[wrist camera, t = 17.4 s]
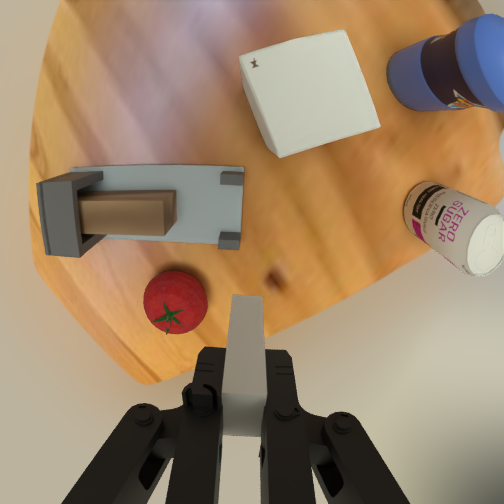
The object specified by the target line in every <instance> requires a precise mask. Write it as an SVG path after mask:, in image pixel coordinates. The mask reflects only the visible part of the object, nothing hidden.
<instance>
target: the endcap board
mask: <svg viewBox="0 0 504 504" xmlns="http://www.w3.org/2000/svg"><path fill="white" fill-rule="evenodd" d="M243 179H244V166H222V165H181V164H152V165H112V166H91V167H75V168H71V169H70V172H69V173H66V174H63V175H60V176H57V177H54V178H50V179H47V180H44V181H42V182H39V183H36V184H37V196H38V205H39V214H40V222H41V229H42V235H43V241H44V247H45V253H46V255H53V256H64V257H76V258H80V257H81V256H83V255H84V253H86V252H87V251H88V250H89V249H90V248H92V247H93V246H94V245H95V244H96V243H98V242H99V241H100V240H101V239H103V238H109V239H129V240H148V241H168V242H186V243H205V244H218V249H227V250H239V247H240V236H241V217H242V198H243ZM113 190H176V198H177V221H176V223H175V224H174V225H173V226H172V228H171V229H170V230H169V231H168V233H167V234H166V235H165V236H140V235H108V234H81V230H80V222H79V212H78V200H77V193H79V192H82V191H113Z"/></svg>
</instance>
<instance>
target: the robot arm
mask: <svg viewBox="0 0 504 504" xmlns="http://www.w3.org/2000/svg"><path fill="white" fill-rule="evenodd" d="M182 398H183V405H182V406H180V407H178V408H174V409H170V410H161V411H160V410H159V409H158V408H157V407H155V406H154V405H151V404H146V403H143V404H137V405H135V406H132V407H131V408H130V409H129V410H128V411H127V412H126V414H125V415H124V416H123V418H122V419H121V421H120V422H119V423H118V425H117V426H116V428H115V429H114V430H113V432H112V433H111V435H110V436H109V437H108V439H107V440H106V442H105V443H104V444H103V446H102V447H101V449H100V450H99V451H98V453H97V454H96V456H95V457H94V458H93V460H92V461H91V463H90V464H89V465H88V467H87V468H86V469H85V471H84V472H83V474H82V475H81V477H80V478H79V479H78V481H77V482H76V484H75V485H74V487H73V488H72V489H71V491H70V492H69V493H68V495H67V496H66V498H65V499H64V500H63V502H62V503H61V504H147V502H148V500H149V498H150V496H151V494H152V493H153V491H154V489H155V487H156V485H157V484H158V482H159V480H160V478H161V476H162V474H163V472H164V471H165V469H166V467H167V465H168V463H169V461H170V459H171V458H174V459H173V464H172V469H171V475H170V480H169V486H168V491H167V497H166V503H165V504H218V497H219V483H220V470H221V457H222V436H223V435H231V436H254V437H261V446H260V452H259V457H260V478H261V479H260V480H261V504H316V500H315V492H314V484H313V477H312V469H313V471H314V473H315V476H316V478H317V480H318V482H319V484H320V486H321V489H322V491H323V493H324V495H325V498H326V499H327V501H328V504H410V503H409V501H408V499H407V498H406V496H405V495H404V493H403V491H402V490H401V488H400V486H399V485H398V483H397V481H396V480H395V478H394V477H393V475H392V473H391V472H390V470H389V469H388V467H387V465H386V464H385V462H384V460H383V459H382V457H381V456H380V454H379V452H378V451H377V449H376V448H375V446H374V444H373V443H372V441H371V440H370V438H369V436H368V435H367V433H366V431H365V430H364V428H363V427H362V425H361V423H360V422H359V420H357V418H356V417H355V416H353V415H352V414H350V413H347V412H335V413H333V414H331V415H329V416H328V417H327V418H326V417H321V416H317V415H313V414H310V413H308V412H307V411H305V410H304V409H303V408H302V407H301V406H300V404H299V402H298V397H297V390H296V383H295V376H294V370H293V363H292V357H291V356H290V355H289V354H288V352H287V351H286V350H271V349H269V350H268V349H265V340H264V321H263V302H262V296H251V295H232V304H231V312H230V321H229V330H228V339H227V348H218V347H204V348H203V349H202V350H201V351H200V353H199V354H198V358H197V364H196V368H195V373H194V377H193V382H192V383H189V384H188V385H187V386H185V387H184V389H183V391H182ZM311 467H312V469H311Z"/></svg>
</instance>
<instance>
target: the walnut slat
mask: <svg viewBox="0 0 504 504" xmlns="http://www.w3.org/2000/svg"><path fill="white" fill-rule="evenodd" d="M77 200H78V212H79V222H80V230H81V234H108V235H140V236H165V235H166V234H167V233H168V231H169V230H170V229H171V228H172V226H173V225H174V224H175V223H176V221H177V198H176V190H113V191H82V192H79V193H77Z"/></svg>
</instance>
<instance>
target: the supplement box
mask: <svg viewBox="0 0 504 504" xmlns="http://www.w3.org/2000/svg"><path fill="white" fill-rule="evenodd" d="M239 63H240V70H241V77H242V84H243V89H244V91H245V94H246V97H247V99H248V102H249V104H250V107H251V110H252V112H253V115H254V117H255V120H256V122H257V125H258V127H259V130H260V133H261V135H262V137H263V140H264V142H265V144H266V146H267V148H268V149H269V150H270V151H272V152H273V153H274V154H275V155H277V156H278V157H279V158H283V157H286V156H289V155H292V154H295V153H298V152H301V151H304V150H307V149H311V148H314V147H317V146H320V145H323V144H326V143H330V142H333V141H336V140H340V139H343V138H346V137H350V136H353V135H357V134H360V133H363V132H367V131H370V130H374V129H377V128H380V127H381V126H380V123H379V120H378V117H377V113H376V110H375V107H374V104H373V101H372V98H371V96H370V93H369V90H368V87H367V85H366V82H365V79H364V77H363V74H362V71H361V68H360V66H359V63H358V61H357V58H356V55H355V53H354V50H353V48H352V46H351V43H350V41H349V38H348V36H347V33H346V31H345V30H343V29H342V30H336V31H331V32H326V33H321V34H316V35H311V36H307V37H302V38H296V39H292V40H289V41H286V42H283V43H279V44H276V45H272V46H269V47H265V48H262V49H259V50H255V51H252V52H249V53H246V54H243V55H241V56H239Z"/></svg>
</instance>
